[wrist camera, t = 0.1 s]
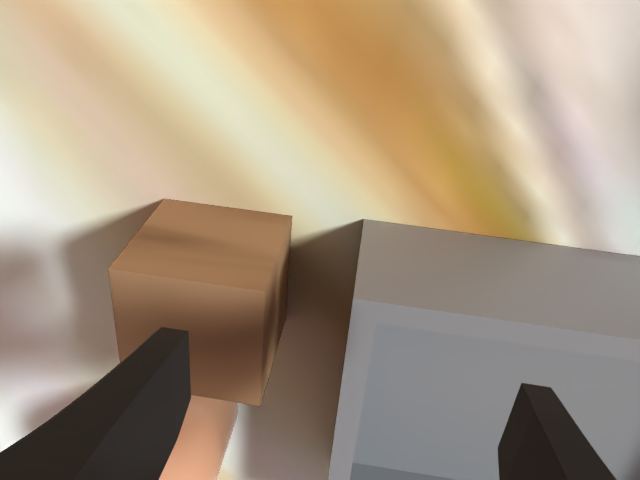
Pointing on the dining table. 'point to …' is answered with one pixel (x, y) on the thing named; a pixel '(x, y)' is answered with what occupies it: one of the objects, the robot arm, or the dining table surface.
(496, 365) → the tote
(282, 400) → the dining table surface
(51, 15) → the dining table surface
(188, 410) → the terracotta cylinder
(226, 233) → the walnut cube
